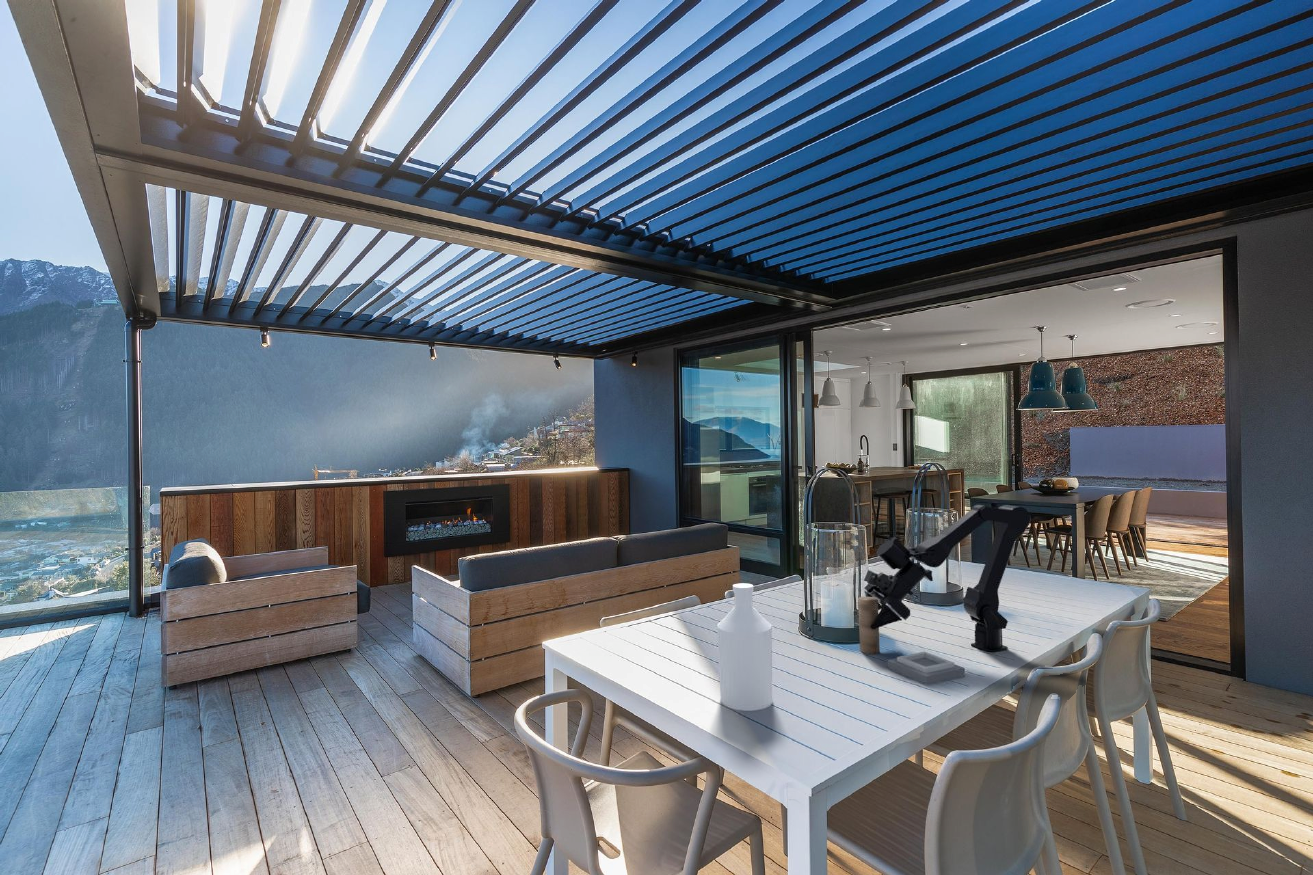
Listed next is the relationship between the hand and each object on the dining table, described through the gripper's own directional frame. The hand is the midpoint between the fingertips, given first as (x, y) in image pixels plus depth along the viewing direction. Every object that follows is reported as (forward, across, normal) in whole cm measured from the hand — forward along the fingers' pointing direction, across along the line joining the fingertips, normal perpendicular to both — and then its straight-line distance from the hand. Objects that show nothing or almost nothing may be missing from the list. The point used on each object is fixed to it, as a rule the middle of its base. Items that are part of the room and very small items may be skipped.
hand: (864, 623), depth 163 cm
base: (-1, +16, +12) cm, 20 cm away
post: (+5, 0, +6) cm, 8 cm away
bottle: (+32, +29, -20) cm, 48 cm away
